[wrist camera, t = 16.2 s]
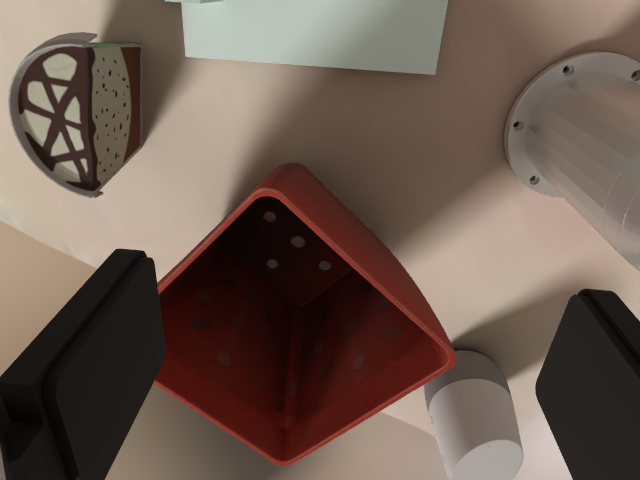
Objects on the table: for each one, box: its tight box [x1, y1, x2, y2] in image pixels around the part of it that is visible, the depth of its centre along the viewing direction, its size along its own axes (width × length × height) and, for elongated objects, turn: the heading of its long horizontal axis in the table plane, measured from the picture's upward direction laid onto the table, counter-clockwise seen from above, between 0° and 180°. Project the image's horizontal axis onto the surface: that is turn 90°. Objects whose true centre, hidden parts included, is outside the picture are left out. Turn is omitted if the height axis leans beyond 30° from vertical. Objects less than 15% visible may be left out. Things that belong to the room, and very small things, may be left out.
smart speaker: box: [424, 350, 523, 480], centre depth 49 cm, size 10×9×14 cm
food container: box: [8, 32, 143, 198], centre depth 37 cm, size 12×6×10 cm, turn 169°
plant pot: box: [154, 163, 457, 466], centre depth 41 cm, size 19×19×17 cm
